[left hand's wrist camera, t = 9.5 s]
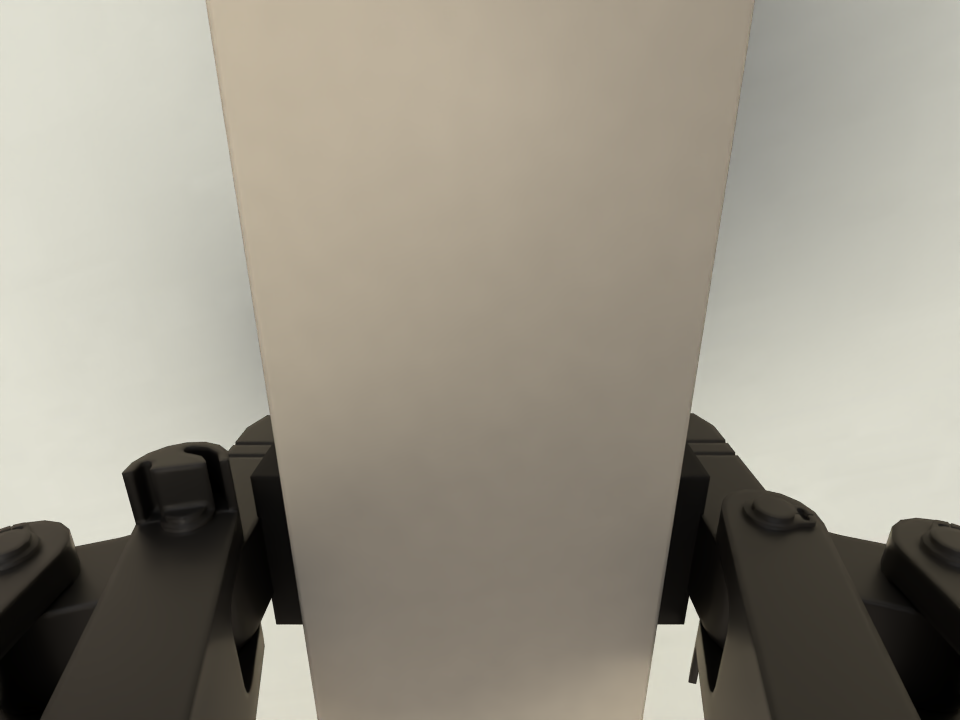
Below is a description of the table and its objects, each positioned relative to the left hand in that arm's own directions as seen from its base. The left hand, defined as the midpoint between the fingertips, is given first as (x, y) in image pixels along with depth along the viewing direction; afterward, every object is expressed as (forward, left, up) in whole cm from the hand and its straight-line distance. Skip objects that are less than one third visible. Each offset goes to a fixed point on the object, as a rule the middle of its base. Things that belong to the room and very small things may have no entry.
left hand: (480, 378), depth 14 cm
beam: (+18, +14, -1) cm, 23 cm away
